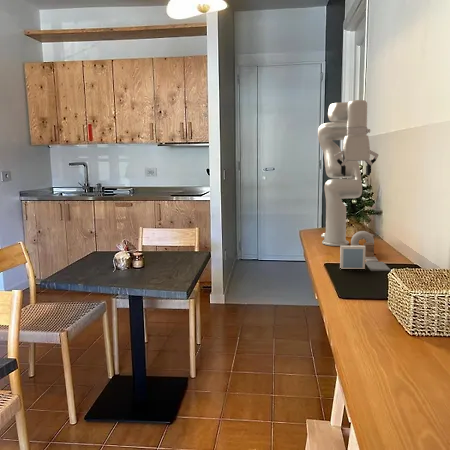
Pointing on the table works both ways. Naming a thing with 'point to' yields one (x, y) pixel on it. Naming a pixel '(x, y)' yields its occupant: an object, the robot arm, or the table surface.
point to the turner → (370, 253)
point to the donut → (361, 235)
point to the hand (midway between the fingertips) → (355, 175)
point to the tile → (352, 257)
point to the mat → (377, 266)
